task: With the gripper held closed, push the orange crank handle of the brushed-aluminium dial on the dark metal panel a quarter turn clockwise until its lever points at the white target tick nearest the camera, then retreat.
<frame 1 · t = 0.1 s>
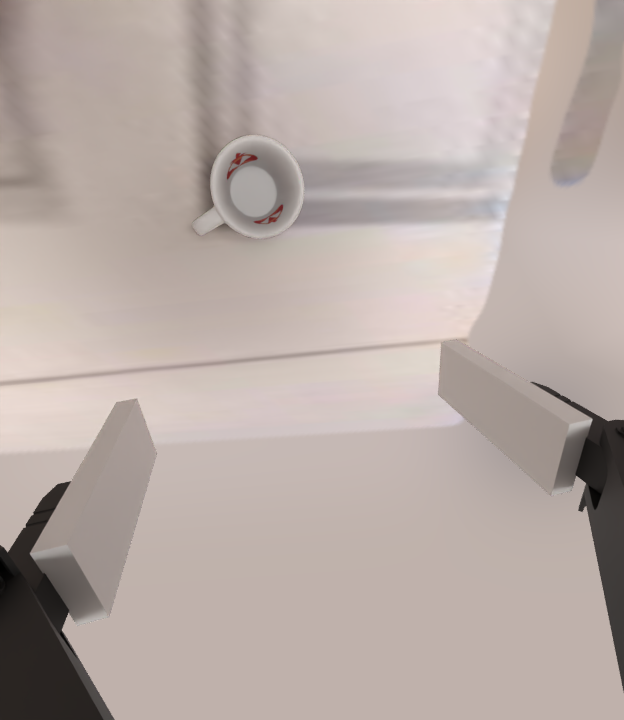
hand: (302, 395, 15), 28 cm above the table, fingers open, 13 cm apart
cup: (241, 200, 37), on the table
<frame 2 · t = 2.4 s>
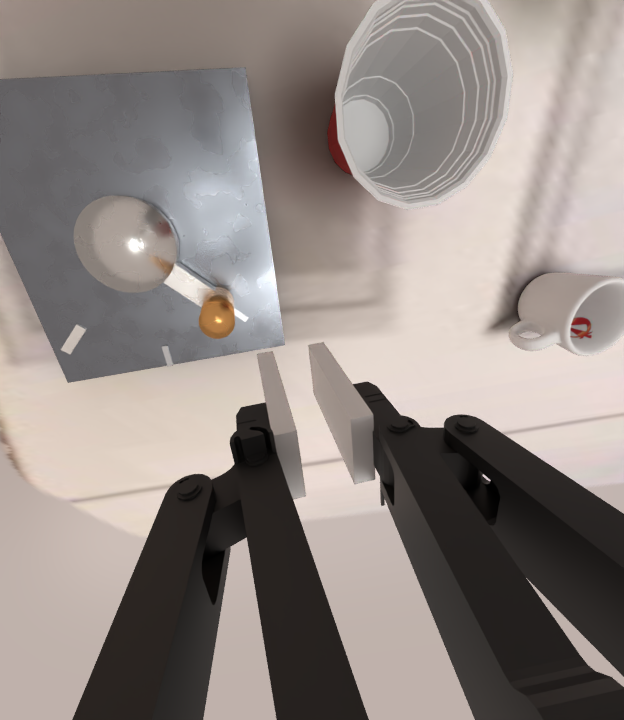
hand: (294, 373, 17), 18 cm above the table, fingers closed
cup: (526, 305, 41), on the table
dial: (160, 272, 26), point 5 cm above the table, hinge at 0.0°
plastic cup: (358, 141, 30), on the table
panel: (150, 240, 30), on the table
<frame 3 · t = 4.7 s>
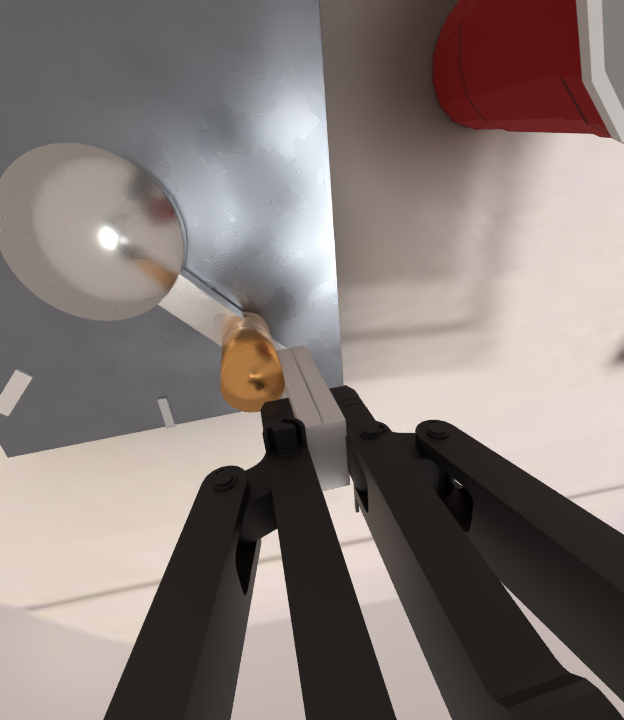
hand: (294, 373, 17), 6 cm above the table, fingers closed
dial: (152, 289, 15), point 5 cm above the table, hinge at -2.2°, touching gripper
plastic cup: (477, 71, 19), on the table
panel: (139, 231, 18), on the table
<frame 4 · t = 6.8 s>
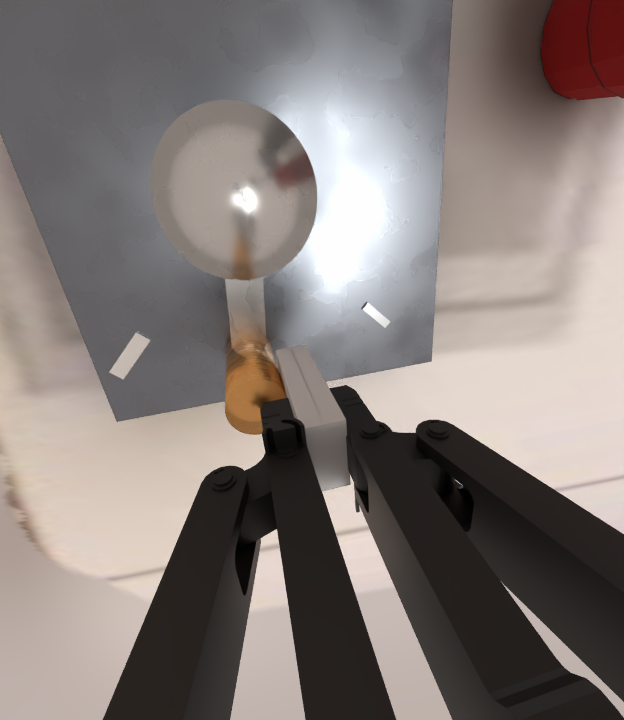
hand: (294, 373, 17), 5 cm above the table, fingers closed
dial: (244, 271, 15), point 5 cm above the table, hinge at -50.7°, touching gripper
plastic cup: (581, 42, 19), on the table
panel: (255, 197, 19), on the table
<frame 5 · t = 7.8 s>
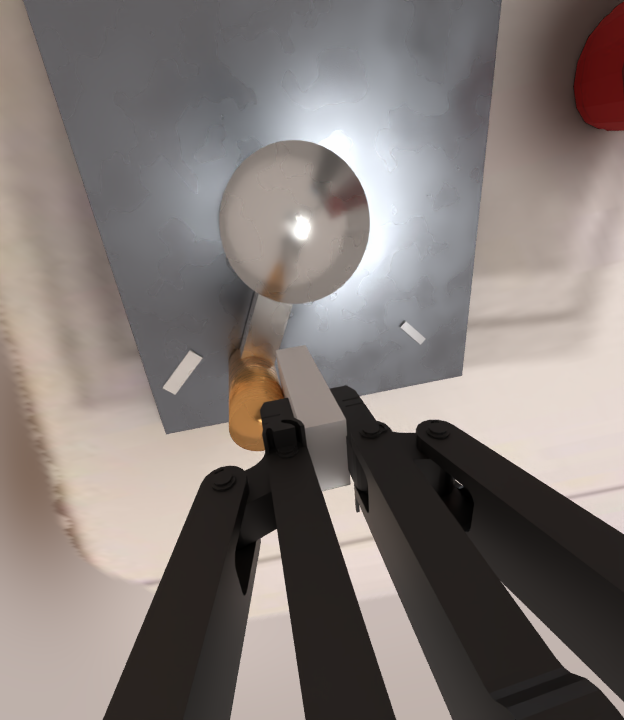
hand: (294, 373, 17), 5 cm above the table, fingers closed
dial: (283, 295, 16), point 5 cm above the table, hinge at -68.7°, touching gripper
plastic cup: (611, 76, 20), on the table
panel: (303, 222, 20), on the table
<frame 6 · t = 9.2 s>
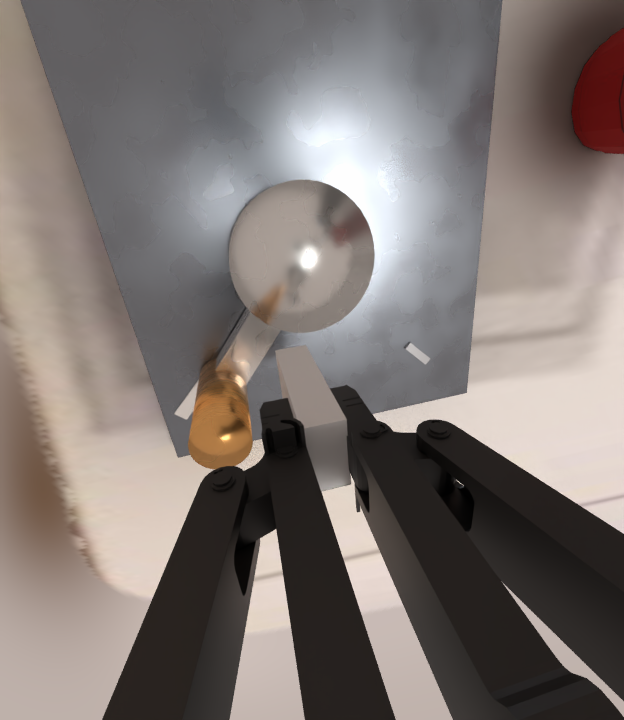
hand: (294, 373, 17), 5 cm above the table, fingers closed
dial: (275, 320, 16), point 5 cm above the table, hinge at -85.3°
plastic cup: (608, 100, 21), on the table
panel: (308, 250, 20), on the table
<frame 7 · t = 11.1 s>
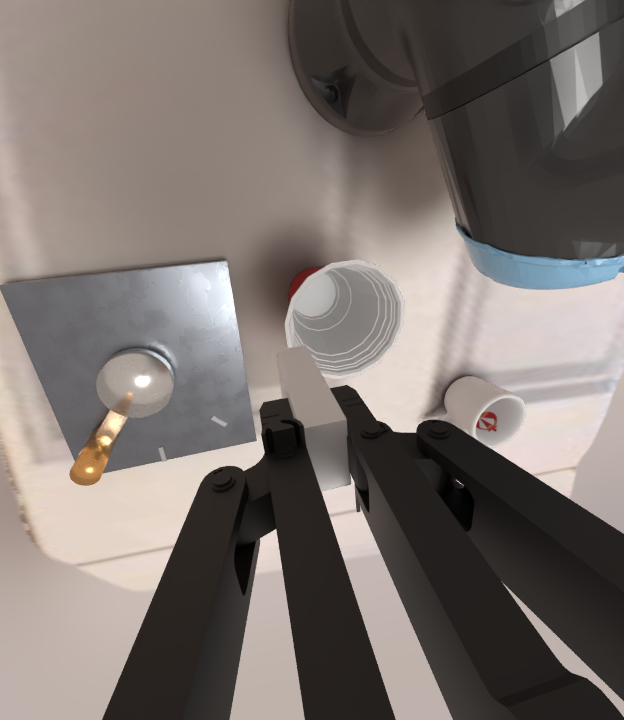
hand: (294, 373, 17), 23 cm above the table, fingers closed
cup: (451, 398, 52), on the table
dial: (119, 415, 35), point 5 cm above the table, hinge at -85.3°
plastic cup: (312, 295, 40), on the table
panel: (152, 370, 39), on the table
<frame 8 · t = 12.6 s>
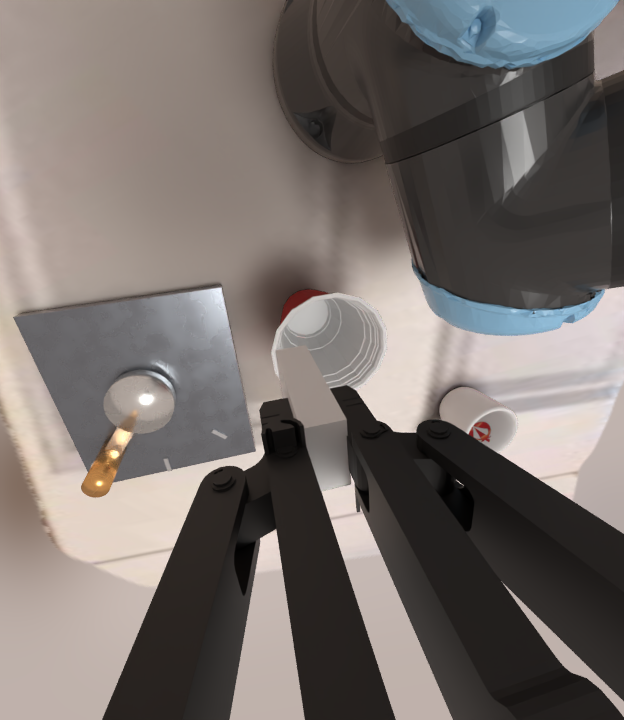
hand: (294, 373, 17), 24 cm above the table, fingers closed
cup: (447, 407, 53), on the table
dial: (125, 432, 38), point 5 cm above the table, hinge at -85.3°
plastic cup: (305, 314, 42), on the table
panel: (155, 388, 41), on the table
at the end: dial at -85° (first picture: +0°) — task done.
